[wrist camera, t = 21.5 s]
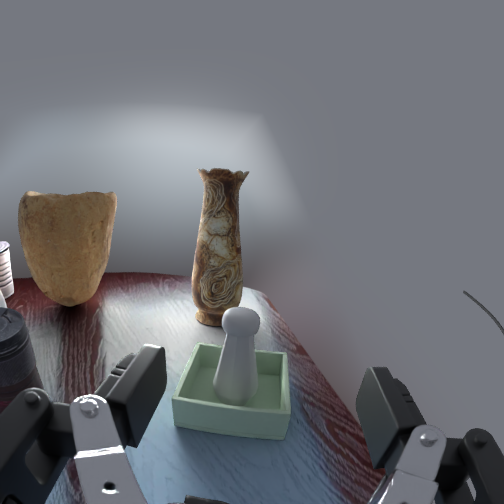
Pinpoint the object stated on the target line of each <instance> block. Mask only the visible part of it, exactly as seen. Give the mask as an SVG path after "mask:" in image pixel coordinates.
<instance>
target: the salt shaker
mask: <svg viewBox="0 0 504 504" xmlns="http://www.w3.org/2000/svg"><path fill="white" fill-rule="evenodd" d="M259 325H260V317H259V315H258V314H257V313H256V312H255V311H253V310H252V309H249V308H245V307H233V308H230V309H228V310H227V311H225V313H224V314H223V318H222V327H223V330H224V331H225V332H226V337H225V341H224V345H223V349H222V352H221V356H220V359H219V363H218V366H217V370H216V373H215V376H214V380H213V387H214V390H215V393H216V395H217V397H218V399H219V401H221V402H222V403H224V404H226V405H232V406H245V405H246V403H247V402H248V401H249V400H250V399H251V398H252V397H253V396H254V395H255V394H256V392H257V388H258V375H257V365H256V354H255V344H254V334H256V333H257V332H258V329H259Z"/></svg>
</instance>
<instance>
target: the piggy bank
mask: <svg viewBox="0 0 504 504" xmlns="http://www.w3.org/2000/svg"><path fill="white" fill-rule="evenodd" d="M0 307H4V308H7V306H6V303H5V300H4V297H3V294H2V292H1V290H0Z"/></svg>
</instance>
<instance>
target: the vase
mask: <svg viewBox="0 0 504 504" xmlns="http://www.w3.org/2000/svg"><path fill="white" fill-rule="evenodd" d="M197 170H198V172H199V174H200V176H201V178H202V181H203V183H204V198H203V206H202V214H201V221H200V227H199V233H198V240H197V246H196V253H195V259H194V266H193V272H192V297H193V301H194V304H195V305H196V307H197V308H198V311H197V313H196V315H195V317H196V319H197V320H198V321H199V322H201V323H203V324H206V325H211V326H222V318H223V314H224V313H225V311H227V310H228V309H230V308H233V307H238V306H239V303H240V301H241V297H242V288H243V273H242V259H241V246H240V232H239V204H238V201H239V199H238V198H239V189H240V186H241V185H242V183H243V181H244V180H245V178H246V176H247V175H248V173H249V172H245V173H243V172H242V171H237V172H235V173H233V172H231V171H230V170H229V169H221V168H213V169H211V170H210V171H207V170H205V169H202V170H200V169H197Z"/></svg>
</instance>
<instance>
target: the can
mask: <svg viewBox="0 0 504 504" xmlns="http://www.w3.org/2000/svg"><path fill="white" fill-rule="evenodd" d="M9 246H10V245H9V244H8V242H0V290H1V292H2V294H3V297H4V299H5V298H8V297H9V296H10V295H12V294H13V293H14V287H13V280H12V274H11V266H10V256H9Z"/></svg>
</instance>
